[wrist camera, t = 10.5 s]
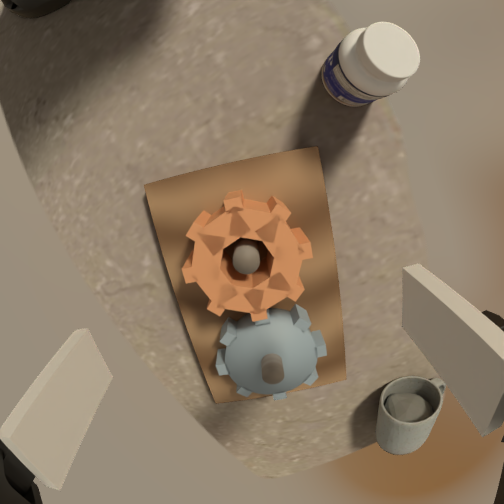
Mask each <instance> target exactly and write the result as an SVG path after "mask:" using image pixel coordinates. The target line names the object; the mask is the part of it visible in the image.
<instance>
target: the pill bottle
mask: <svg viewBox="0 0 504 504" xmlns="http://www.w3.org/2000/svg"><path fill="white" fill-rule="evenodd" d="M419 63H420V54H419V50H418V47H417V45H416V43H415V41H414V40H413V38H412V37H411V36H410V35H409V34H408V33H407V32H406V31H405V30H404V29H402V28H401V27H399V26H397V25H395V24H392V23H388V22H377V23H374V24H372V25H370V26H369V27H367V28H360V29H356V30H354V31H352V32H350V33H349V34H348V35H347V36H346V37H345V38H344V39H343V40H342V41H341V42H340V43H339V45H338V46H337V47H336V48H335V50H334V51H333V52H332V53H331V54H330V56H329V57H328V58H327V59H326V61H325V62H324V64H323V67H322V81H323V84H324V86H325V88H326V90H327V92H328V93H329V94H330V95H331V96H332V97H333V98H334V99H335V100H337V101H338V102H340V103H342V104H345V105H348V106H355V107H356V106H363V105H366V104H369V103H371V102H373V101H375V100H378V99H380V98H383V97H386V96H389V95H391V94H393V93H395V92H397V91H399V90H400V89H401V88H403V86H404V85H405V84H406V82H407V80H408V78H409V77H410V76H411V75H413V74H414V73H415V72H416V71H417V69H418V67H419Z"/></svg>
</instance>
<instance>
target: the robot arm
mask: <svg viewBox="0 0 504 504" xmlns="http://www.w3.org/2000/svg"><path fill="white" fill-rule="evenodd" d="M1 1H2V2H3V4H4V5H5V7H6V8H7V9H8V10H9V11H11V12H12V13H15V14H17V15H19V16H21V17H24V18H36V17H40V16H43V15H46V14H49V13H51V12H53V11H55V10H57V9H59V8H61V7H62V6H64V5H66V4H67V3H69V2H70V1H72V0H1ZM402 272H403V308H402V327H403V328H404V330H405V331H406V332H407V333H408V335H409V336H410V337H411V339H412V340H413V341H414V342H415V344H416V345H417V346H418V348H419V349H420V350H421V351H422V353H423V354H424V355H425V357H426V358H427V359H428V361H429V362H430V363H431V365H432V366H433V367H434V369H435V370H436V371H437V373H438V374H439V375H440V377H441V378H442V379H443V381H444V382H445V384H446V385H447V386H448V388H449V389H450V390H451V392H452V393H453V395H454V396H455V398H456V399H457V400H458V402H459V403H460V405H461V406H462V407H463V409H464V410H465V412H466V413H467V415H468V416H469V418H470V419H471V420H472V422H473V424H474V425H475V427H476V428H477V429H478V431H479V433H480V434H481V436H482V437H484V436H485V435H487V434H489V433H491V432H492V431H494V430H495V429H497V428H499V427H500V426H501V425H502V423H503V421H504V319H503V318H501V317H500V316H499V315H496V314H494V313H492V312H489V311H487V310H486V311H483V312H480V311H479V310H478V309H476V308H475V307H474V306H473V305H472V304H470V303H469V302H468V301H467V300H465V299H464V298H463V297H462V296H460V295H459V294H458V293H457V292H455V291H454V290H453V289H452V288H450V287H449V286H448V285H446V284H445V283H444V282H443V281H441V280H440V279H439V278H437V277H436V276H434V275H433V274H432V273H431V272H429V271H428V270H427V269H425V268H424V267H423V266H421V265H420V264H415V265H411V266H407V267H403V268H402ZM112 379H113V376H112V375H111V373H110V371H109V369H108V367H107V366H106V363H105V362H104V360H103V358H102V356H101V354H100V352H99V350H98V348H97V346H96V344H95V342H94V340H93V338H92V336H91V334H90V331H89V329H88V328H87V329H79V330H75V331H74V332H73V333H72V334H71V336H70V337H69V338H68V339H67V340H66V342H65V343H64V344H63V345H62V346H61V348H60V349H59V350H58V352H57V353H56V354H55V355H54V356H53V358H52V359H51V360H50V361H49V363H48V364H47V365H46V367H45V368H44V369H43V370H42V372H41V373H40V375H39V376H38V377H37V378H36V380H35V381H34V382H33V384H32V385H31V386H30V388H29V389H28V390H27V392H26V393H25V395H24V396H23V397H22V398H21V400H20V401H19V403H18V404H17V406H16V407H15V408H14V410H13V411H12V413H11V414H10V415H9V417H8V418H7V420H6V421H5V422H4V424H3V425H2V427H1V428H0V504H42V500H41V496H40V492H39V489H38V487H37V485H36V484H35V483H34V482H33V480H34V478H35V477H36V478H38V479H39V480H40V481H41V482H42V483H43V484H44V485H45V486H48V487H51V488H54V489H58V490H61V487H62V485H63V482H64V480H65V478H66V475H67V473H68V471H69V468H70V466H71V464H72V461H73V459H74V457H75V455H76V453H77V450H78V448H79V446H80V444H81V442H82V440H83V438H84V436H85V433H86V431H87V429H88V427H89V425H90V423H91V421H92V419H93V417H94V415H95V413H96V411H97V408H98V407H99V404H100V402H101V400H102V398H103V396H104V395H105V392H106V391H107V389H108V387H109V385H110V383H111V381H112ZM501 442H504V436H503V438H502V441H501ZM494 504H504V464H503V469H502V474H501V478H500V482H499V486H498V490H497V494H496V498H495V501H494Z"/></svg>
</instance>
